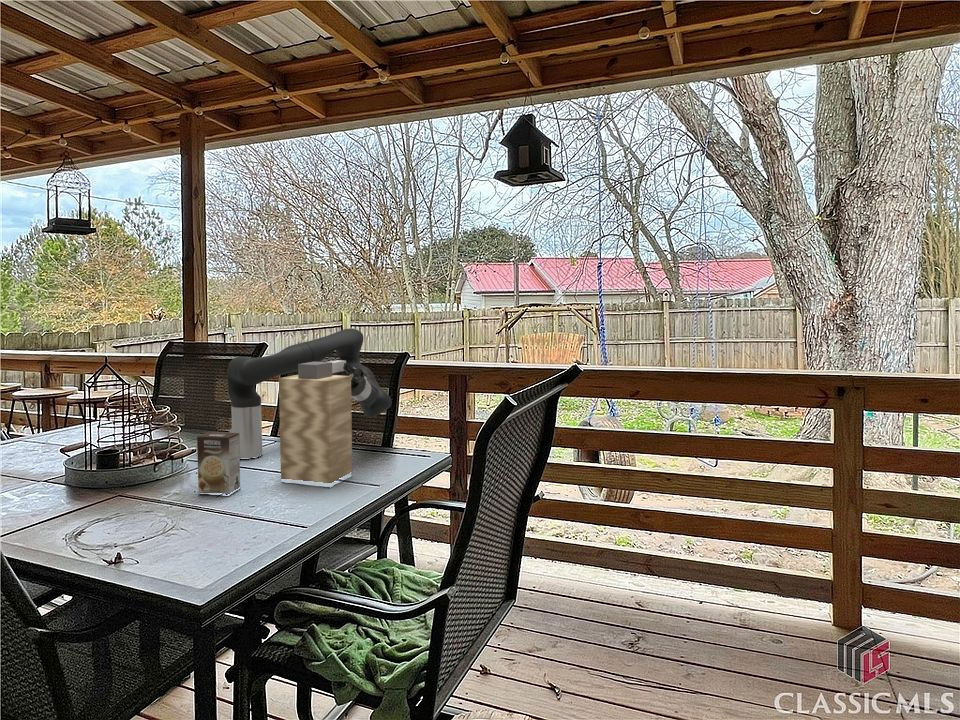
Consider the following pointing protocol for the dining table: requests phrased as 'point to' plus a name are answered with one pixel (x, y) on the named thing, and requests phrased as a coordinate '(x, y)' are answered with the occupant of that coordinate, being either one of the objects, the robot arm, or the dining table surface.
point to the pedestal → (315, 428)
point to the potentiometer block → (319, 369)
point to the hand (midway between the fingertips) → (332, 364)
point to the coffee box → (218, 462)
